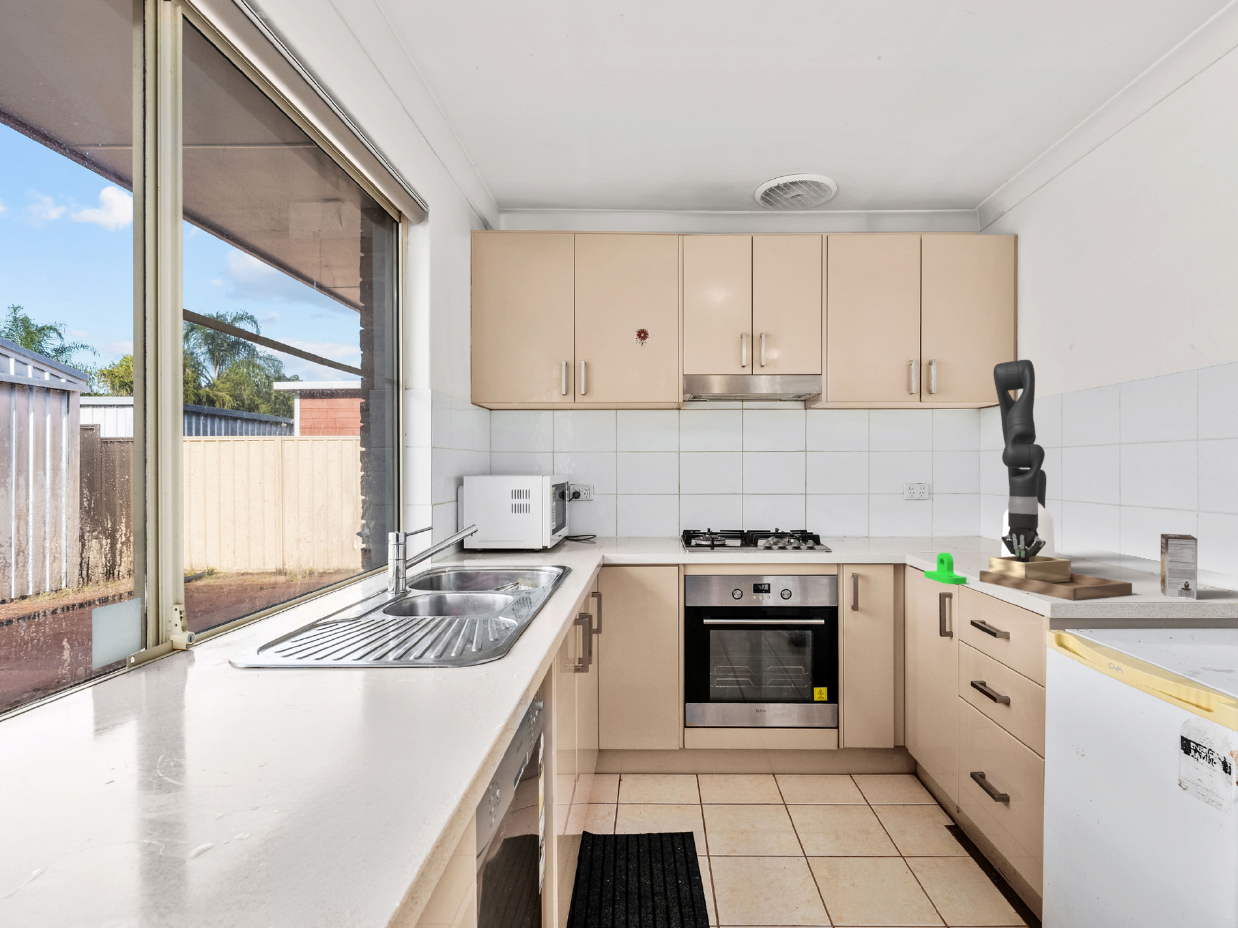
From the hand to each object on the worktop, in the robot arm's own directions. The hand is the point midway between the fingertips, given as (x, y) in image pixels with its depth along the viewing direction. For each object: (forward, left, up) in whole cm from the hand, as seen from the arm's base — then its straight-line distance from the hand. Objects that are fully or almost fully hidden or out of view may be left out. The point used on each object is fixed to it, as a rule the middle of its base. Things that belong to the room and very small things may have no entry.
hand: (1022, 570), depth 189 cm
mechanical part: (-10, -20, -4) cm, 22 cm away
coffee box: (+28, +21, -4) cm, 35 cm away
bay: (+9, 0, -4) cm, 10 cm away
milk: (-12, +17, -4) cm, 21 cm away
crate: (-4, 0, -2) cm, 5 cm away
